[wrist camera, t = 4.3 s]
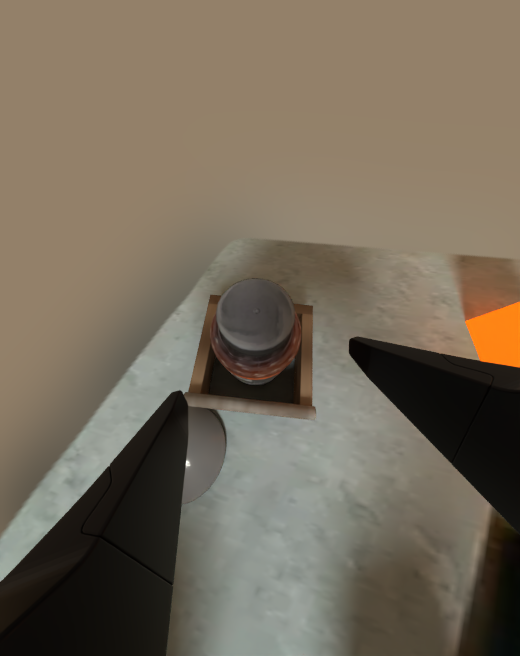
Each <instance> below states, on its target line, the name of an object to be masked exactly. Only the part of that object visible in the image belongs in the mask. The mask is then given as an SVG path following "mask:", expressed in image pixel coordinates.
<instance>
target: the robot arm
mask: <svg viewBox="0 0 520 656" xmlns="http://www.w3.org/2000/svg"><path fill="white" fill-rule="evenodd" d="M349 354H350V356H351V357H352V358H353V359H354V361H355V362H356V363H357V364H358V366H359V367H360V368H361V370H362V371H363V372H364V373H365V374H366V376H367V377H368V378H369V379H370V380H371V381H372V382H373V383H374V384H375V385H376V386H377V387H378V388H379V389H380V390H381V392H382V393H383V394H384V395H385V396H386V397H387V398H388V399H389V400H390V401H391V402H392V403H393V404H394V405H395V406H396V407H397V408H398V409H399V410H400V411H401V412H402V413H403V414H404V415H405V416H406V417H407V418H408V419H409V420H410V421H411V422H412V423H413V425H414V426H415V427H416V428H417V429H418V430H419V431H420V432H421V433H422V434H423V435H424V436H425V437H426V438H427V439H428V440H429V441H430V442H431V443H432V444H433V445H434V446H435V447H436V448H437V449H438V450H439V451H440V452H441V453H442V454H443V455H444V457H445V458H446V459H447V460H448V461H449V462H450V463H452V465H453V466H454V467H455V468H456V469H457V470H458V471H459V472H460V473H461V474H462V475H463V476H464V477H465V478H466V479H467V480H468V481H469V482H470V483H471V485H472V486H473V487H474V488H475V489H476V490H477V491H478V492H479V493H480V494H481V495H482V496H483V497H484V498H485V499H486V500H487V501H488V502H489V503H490V504H491V505H492V506H493V507H494V508H495V509H496V510H497V511H498V512H499V513H500V514H501V515H502V517H503V518H504V519H505V520H506V521H507V522H508V523H509V524H510V525H511V526H512V527H513V528H514V529H515V530H516V531H517V532H518V533H519V534H520V367H514V366H508V365H502V364H496V363H490V362H484V361H478V360H472V359H466V358H461V357H456V356H451V355H446V354H439V353H436V352H431V351H426V350H421V349H416V348H412V347H407V346H402V345H397V344H392V343H387V342H382V341H377V340H372V339H367V338H363V337H354V338H351V339H350V340H349ZM188 435H189V429H188V403H187V400H186V399H185V397H184V395H183V393H182V391H180V390H179V391H175V392H172V393H171V394H170V395H169V396H168V397H167V399H166V400H165V401H164V402H163V403H162V404H161V406H160V407H159V408H158V409H157V410H156V411H155V413H154V414H153V415H152V416H151V417H150V418H149V420H148V421H147V422H146V423H145V424H144V425H143V426H142V428H141V429H140V430H139V431H138V432H137V433H136V435H135V436H134V437H133V438H132V439H131V440H130V442H129V443H128V444H127V445H126V446H125V447H124V449H123V450H122V451H121V452H120V453H119V454H118V456H117V457H116V458H115V459H114V460H113V461H112V463H111V464H110V466H108V467H107V468H106V469H105V471H104V472H103V473H102V474H101V475H100V476H99V478H98V479H97V480H96V481H95V482H94V483H93V484H92V486H91V487H90V488H89V489H88V490H87V491H86V492H85V493H84V495H83V496H82V497H81V498H80V499H79V500H78V501H77V502H76V503H75V504H74V505H73V506H72V508H71V509H70V510H69V511H68V512H67V513H66V514H65V515H64V516H63V517H62V518H61V519H60V520H59V521H58V522H57V523H56V525H55V526H54V527H53V528H52V529H51V530H50V531H49V532H48V533H47V534H46V535H45V536H44V537H43V538H42V539H41V540H40V541H39V542H38V544H37V545H36V546H35V547H34V548H33V549H32V550H31V551H30V552H29V553H28V554H27V555H26V556H25V557H24V558H23V559H22V560H21V561H20V563H19V564H18V565H17V566H16V567H15V568H14V569H13V570H12V571H11V572H10V573H9V574H8V575H7V576H6V577H5V578H4V579H3V580H2V581H1V582H0V656H166V650H167V640H168V631H169V621H170V612H171V602H172V593H173V586H172V585H173V582H174V572H175V563H176V553H177V544H178V534H179V525H180V515H181V506H182V496H183V487H184V477H185V467H186V458H187V448H188Z"/></svg>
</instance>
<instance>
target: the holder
mask: <svg viewBox="0 0 520 656" xmlns="http://www.w3.org/2000/svg"><path fill="white" fill-rule="evenodd" d="M220 298H221V296H217V295H210V300H209V304H208V308H207V313H206V317H205V321H204V326H203V330H202V335H201V339H200V343H199V348H198V352H197V356H196V361H195V365H194V369H193V374H192V378H191V383H190V387H189V391H188V392H185V394H184V397H185V399H186V400H187V403H188V406H192V407H201V408H210V409H219V410H228V411H236V412H245V413H254V414H263V415H272V416H281V417H290V418H299V419H308V420H315V418H316V409H315V407H314V406H312V329H313V306H310V305H300V304H293V305H294V308H295V312H296V314H297V317H298V319H299V322H300V326H301V342H300V346H299V349H298V352H297V354H296V356H295V364H294V390H293V403H284V402H275V401H266V400H257V399H248V398H239V397H230V396H221V395H213V394H209V389H210V383H211V378H212V373H213V368H214V363H215V357H216V355H215V353H214V351H213V348H212V345H211V341H210V327H211V323H212V319H213V317H214V315H215V312H216V310H217V305H218V302H219V300H220Z"/></svg>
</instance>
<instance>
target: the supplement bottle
mask: <svg viewBox="0 0 520 656" xmlns="http://www.w3.org/2000/svg"><path fill="white" fill-rule="evenodd" d="M210 341H211V345H212V348H213V351H214V353H215V355H216V357H217V358H218V360H219V361H220V362H221V364H222V365H223V366H224V367H225V368H226V369H227V370H228V371H229V372H230V373H231V374H233V375H234V376H235V377H236V378H237V379H238V380H240V381H241V382H243V383H246V384H249V385H263V384H266V383H268V382H270V381H271V380H273V379H274V378H275V377H276V376H277V375H278V374H279V373H281V372H282V371H283V370H284V369H285V368H286V367H287V366H288V365H289V364H290V363H291V361H292V360H293V359H294V357H295V356H296V354H297V352H298V349H299V346H300V342H301V326H300V322H299V319H298V317H297V314H296V312H295V308H294V305H293V302H292V299H291V298H290V296H289V295H288V294H287V292H286V291H285V290H284V289H283V288H282V287H280V286H279V285H278V284H276V283H274V282H271V281H269V280H265V279H258V278H256V279H255V278H252V279H246V280H243V281H240V282H237V283H235V284H234V285H232V286H231V287H230V288H228V289H227V290H226V291H225V292H224V293H223V295H222V296H221V298H220V300H219V302H218V305H217V310H216V312H215V315H214V317H213V319H212V323H211V327H210Z"/></svg>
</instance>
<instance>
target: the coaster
mask: <svg viewBox="0 0 520 656" xmlns="http://www.w3.org/2000/svg"><path fill="white" fill-rule="evenodd" d="M188 429H189V435H188V448H187V458H186V467H185V477H184V487H183V496H182V504H186V503H189V502H191V501H193V500H195V499H197V498H198V497H200V496H201V495H202V494H204V493H205V492H206V491H207V490H208V489H209V488H210V487H211V485H212V484H213V483H214V481H215V480H216V478H217V476H218V474H219V472H220V470H221V468H222V465H223V462H224V458H225V451H226V440H225V434H224V430H223V427H222V425H221V423H220V421H219V419H218V418H217V417H216V415H215V414H214V413H213V412H212V411H210V410H209V409H208V408H201V407H192V406H188Z"/></svg>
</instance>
